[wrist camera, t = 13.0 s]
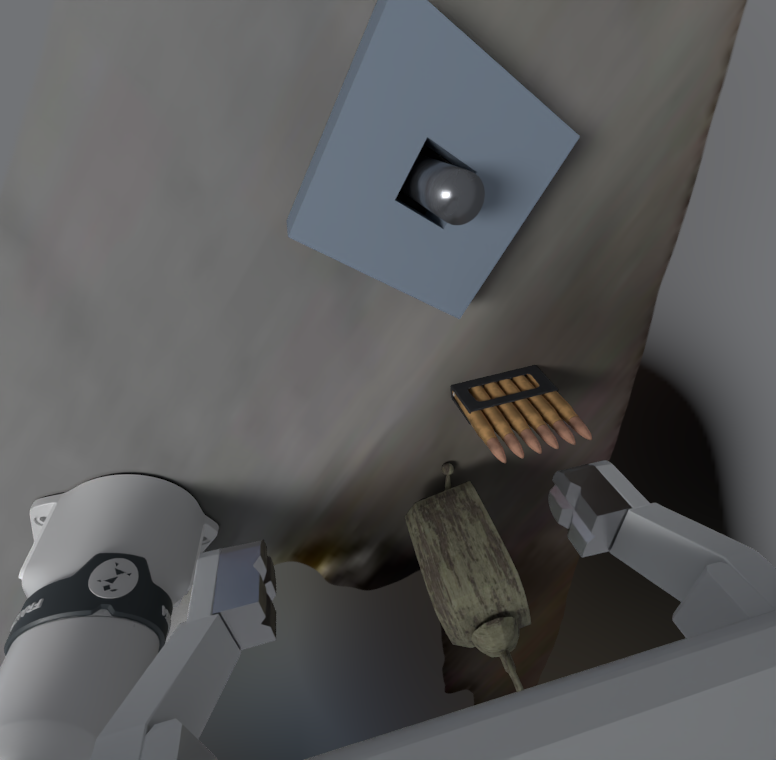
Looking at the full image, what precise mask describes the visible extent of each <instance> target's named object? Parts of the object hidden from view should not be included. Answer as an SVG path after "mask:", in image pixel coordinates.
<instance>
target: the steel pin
mask: <svg viewBox="0 0 776 760" xmlns="http://www.w3.org/2000/svg"><path fill="white" fill-rule="evenodd" d="M401 190H402V192H403V193H405V194H406V195H407V196H409V197H410V198H412V199H413V200H415V201H416V202H418V203H419V204H420V205H422V206H423V207H425V208H426V209H428V210H429V211H431V212H432V213H434V214H435V215H437V216H438V217H440V218H441V219H442V220H444V221H445V222H447V223H449V224H451V225H463V224H466V223H468V222H470V221H471V220H473V219H474V218H475V217H476V216H477V215H478V213H479V212H480V210H481V208H482V206H483V203H484V198H485V190H484V185H483V183H482V181H481V179H480V178H479V176H477V175H476V174H475V173H473V172H471V171H468V170H465V169H462V168H459V167H457V166H454V165H451V164H448V163H445V162H442V161H439V160H436V159H433V158H430V157H427V156H424V155H421V154H418V156H417V158H416V160H415V162H414V164H413V166H412V168H411V170H410V172H409V174H408V176H407V177H406V179H405V181H404V183H403V185H402V187H401Z"/></svg>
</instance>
